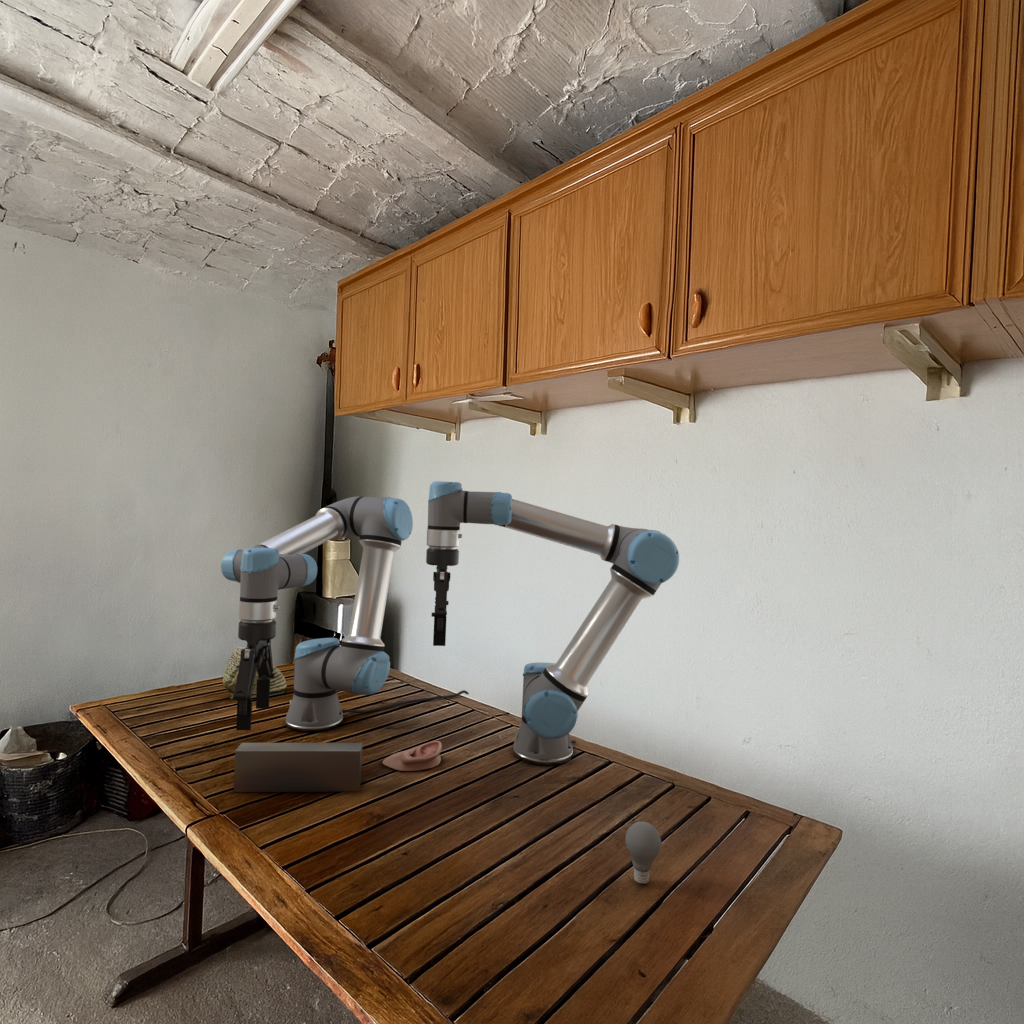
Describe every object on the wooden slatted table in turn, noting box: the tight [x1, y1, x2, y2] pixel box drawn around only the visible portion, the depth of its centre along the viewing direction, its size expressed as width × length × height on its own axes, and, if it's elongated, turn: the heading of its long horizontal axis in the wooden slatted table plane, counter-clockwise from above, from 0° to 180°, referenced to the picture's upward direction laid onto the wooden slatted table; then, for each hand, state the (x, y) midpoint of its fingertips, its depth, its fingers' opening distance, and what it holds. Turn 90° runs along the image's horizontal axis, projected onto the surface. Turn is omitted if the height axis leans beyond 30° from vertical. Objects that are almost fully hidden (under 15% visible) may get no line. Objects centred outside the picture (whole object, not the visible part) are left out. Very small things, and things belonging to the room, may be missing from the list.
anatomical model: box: [382, 740, 443, 772], centre depth 153 cm, size 13×4×12 cm
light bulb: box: [624, 821, 662, 884], centre depth 108 cm, size 6×6×10 cm
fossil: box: [222, 646, 288, 699], centre depth 198 cm, size 9×18×15 cm, turn 132°
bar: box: [233, 742, 364, 793], centre depth 138 cm, size 26×5×9 cm, turn 96°
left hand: (253, 718), depth 136 cm, fingers open, 13 cm apart
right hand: (439, 638), depth 148 cm, fingers open, 13 cm apart
